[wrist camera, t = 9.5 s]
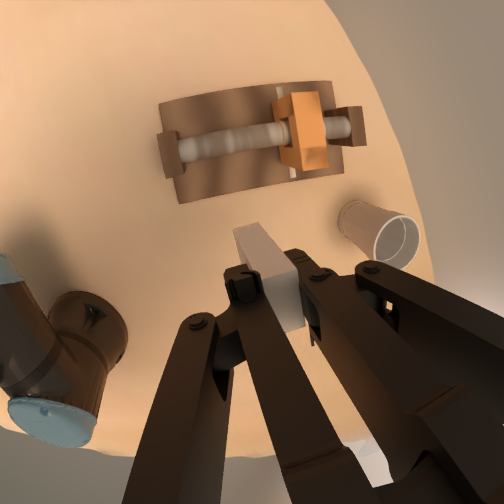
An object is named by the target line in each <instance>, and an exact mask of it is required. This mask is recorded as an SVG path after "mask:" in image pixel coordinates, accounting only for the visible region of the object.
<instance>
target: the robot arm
mask: <svg viewBox="0 0 504 504" xmlns="http://www.w3.org/2000/svg"><path fill="white" fill-rule="evenodd" d="M233 232H234V236H235V240H236V244H237V248H238V252H239V256H240V260H241V264H242V265H238V266H235V267H231V268H228V269H226V270H225V272H224V274H223V275H224V279H225V286H226V290H227V293H228V297H229V300H230V306H229V308H228V309H227V310H226V311H225V312H224V313H222V314H220V315H219V316H217V317H215V316H214V315H213V314H211V313H207V312H201V313H197V314H193V315H191V316H189V317H187V318H186V319H185V320H184V321H183V322H182V324H181V325H180V328H179V330H178V333H177V336H176V338H175V341H174V344H173V347H172V349H171V352H170V355H169V358H168V360H167V363H166V366H165V369H164V372H163V375H162V377H161V380H160V383H159V386H158V389H157V392H156V395H155V398H154V401H153V404H152V407H151V410H150V413H149V416H148V419H147V422H146V425H145V428H144V431H143V434H142V437H141V440H140V443H139V447H138V450H137V453H136V456H135V460H134V463H133V466H132V469H131V473H130V476H129V480H128V483H127V486H126V490H125V493H124V497H123V500H122V504H220V500H221V490H222V479H223V471H224V461H225V452H226V442H227V433H228V424H229V414H230V405H231V396H232V386H233V377H234V368H233V367H235V366H236V365H238V364H240V363H242V362H244V361H245V360H247V363H248V366H249V370H250V373H251V377H252V380H253V383H254V387H255V390H256V393H257V396H258V400H259V403H260V406H261V409H262V413H263V416H264V419H265V422H266V425H267V428H268V431H269V435H270V438H271V441H272V444H273V447H274V450H275V453H276V456H277V459H278V462H279V465H280V468H281V472H282V476H283V479H284V482H285V485H286V488H287V490H288V493H289V496H290V499H291V502H292V504H504V426H503V424H504V318H503V317H501V316H499V315H497V314H495V313H493V312H491V311H489V310H487V309H485V308H483V307H481V306H479V305H477V304H474V303H472V302H470V301H468V300H466V299H464V298H462V297H460V296H457V295H455V294H453V293H451V292H449V291H447V290H444V289H442V288H440V287H438V286H436V285H433V284H431V283H429V282H427V281H425V280H422V279H420V278H418V277H416V276H413V275H411V274H409V273H406V272H404V271H402V270H399V269H397V268H395V267H393V266H390V265H388V264H386V263H383V262H380V261H375V260H367V261H364V262H361V263H359V264H358V265H356V267H355V274H353V275H346V276H339V275H338V274H337V273H335V272H334V271H333V270H331V269H329V268H320V267H319V266H318V265H317V264H316V263H315V262H314V261H313V260H312V259H311V258H310V257H309V256H308V255H307V254H306V253H305V252H304V251H302V250H299V249H296V248H295V249H292V250H288V251H285V252H283V251H282V250H281V249H280V248H279V247H278V245H277V244H276V243H275V242H274V241H273V239H272V238H271V237H270V236H269V235H268V233H267V232H266V231H265V230H264V229H263V228H262V226H261V225H260V224H259V223H254V224H250V225H247V226H243V227H239V228H236V229H233ZM387 301H388V302H390V303H392V304H393V305H392V311H391V310H389V309H387V308H386V305H387ZM304 316H305V318H306V319H307V321H308V324H309V332H310V339H311V345H312V346H314V340H315V342H316V343H317V345H318V347H319V348H320V350H321V351H322V353H323V355H324V356H325V358H326V360H327V361H328V363H329V364H330V366H331V368H332V369H333V371H334V373H335V374H336V376H337V378H338V379H339V381H340V382H341V384H342V386H343V387H344V389H345V391H346V392H347V394H348V396H349V397H350V399H351V400H352V402H353V404H354V405H355V407H356V409H357V410H358V412H359V414H360V415H361V417H362V419H363V420H364V422H365V423H366V425H367V427H368V428H369V430H370V432H371V433H372V435H373V437H374V438H375V440H376V442H377V443H378V445H379V447H380V448H381V450H382V452H383V453H384V455H385V457H386V459H387V461H388V465H389V471H390V474H391V477H392V479H393V481H394V482H393V483H390V484H386V485H382V486H379V487H375V488H372V486H371V484H370V482H369V480H368V478H367V477H366V475H365V473H364V471H363V469H362V467H361V465H360V464H359V462H358V460H357V458H356V457H355V455H354V453H353V452H352V451H351V450H350V448H349V447H346V446H344V445H343V444H342V443H341V441H340V439H339V437H338V435H337V434H336V432H335V430H334V428H333V426H332V424H331V422H330V420H329V418H328V416H327V414H326V412H325V410H324V408H323V406H322V405H321V403H320V401H319V399H318V397H317V395H316V393H315V391H314V389H313V387H312V385H311V383H310V381H309V379H308V377H307V375H306V373H305V371H304V370H303V368H302V366H301V364H300V362H299V360H298V358H297V356H296V354H295V352H294V350H293V348H292V346H291V344H290V342H289V340H288V338H287V336H286V334H285V333H287V332H290V331H293V330H296V329H299V328H302V327H305V326H306V325H305V318H304ZM127 342H128V333H127V328H126V325H125V323H124V321H123V319H122V317H121V316H120V314H119V313H118V312H117V311H116V310H115V309H114V308H113V307H112V306H111V305H110V304H109V303H108V302H106V301H105V300H103V299H102V298H100V297H98V296H96V295H93V294H90V293H87V292H79V291H75V292H69V293H66V294H64V295H62V296H61V297H59V298H58V299H57V300H56V302H55V303H54V305H53V306H52V307H51V309H50V311H49V314H48V318H46V316H45V315H44V313H43V312H42V310H41V308H40V307H39V305H38V304H37V302H36V300H35V299H34V297H33V295H32V294H31V292H30V290H29V288H28V287H27V285H26V283H25V279H24V278H23V277H21V275H20V273H19V272H18V270H17V268H16V267H15V265H14V263H13V262H12V260H11V258H10V257H9V256H8V255H7V254H5V253H0V387H1V388H2V389H3V390H4V391H5V392H6V393H7V395H8V396H9V397H10V400H9V401H8V413H9V415H10V417H11V419H12V420H13V421H14V423H15V424H16V425H17V426H18V427H20V428H21V429H22V430H24V431H25V432H26V433H28V434H29V435H31V436H33V437H35V438H37V439H39V440H41V441H43V442H46V443H49V444H51V445H55V446H59V447H65V448H77V447H82V446H84V445H86V444H87V443H88V442H89V441H90V439H91V437H92V434H93V430H94V427H95V426H96V424H97V418H98V413H99V408H100V404H101V399H102V395H103V391H104V387H105V383H106V379H107V375H108V373H109V372H110V371H111V370H112V369H113V367H114V366H115V364H117V363H118V362H119V361H120V360H121V358H122V357H123V355H124V353H125V349H126V346H127Z"/></svg>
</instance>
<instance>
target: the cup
mask: <svg viewBox="0 0 504 504" xmlns="http://www.w3.org/2000/svg"><path fill="white" fill-rule="evenodd" d="M338 226H339V229H340V231H341V233H342V234H343V235H344V236H346V237H347V238H349V239H350V240H351V241H352V242H353V243H354V244H355V245H356V246H358V247H359V248H360V249H361V250H362V251H363V252H364V253H365V254H366V255H367V257H368V258H369V259H370V260H375V261H380V262H383V263H386V264H388V265H390V266H393V267H395V268H397V269H399V270H403V269H405V268H406V267H407V266H408V265H409V264H410V263H411V262H412V261H413V259H414V258H415V256H416V254H417V252H418V249H419V246H420V239H421V235H420V229H419V226H418V224H417V222H416V221H415V220H414V219H413V218H412V217H410V216H407V215H404V214H400V213H397V212H394V211H388V210H385V209H382V208H379V207H375V206H372V205H369V204H367V203H364V202H362V201H352V202H349V203H348V204H346V205H345V206H344V207H343V209H342V210H341V212H340V214H339V218H338Z"/></svg>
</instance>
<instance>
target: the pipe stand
mask: <svg viewBox="0 0 504 504" xmlns="http://www.w3.org/2000/svg"><path fill="white" fill-rule="evenodd" d="M311 91H318V93H319V99H320V105H321V111H322V118H323V124H324V131H325V138H326V146H327V154H328V162H329V167H328V168H321V169H314V170H307V171H301V170H298V169H295V168H291V167H288V166H285V165H282V164H281V157H280V151H279V145H281V146H282V145H287V144H292V138H291V132H290V125H289V121H277V122H275V120H274V114H273V108H272V102H274V101H276V100H278V99H280V98H282V97H284V96H286V95H288V94H290V93H295V92H311ZM159 109H160V114H161V120H162V125H163V130H164V133H160V134H157V139H158V144H159V149H160V154H161V159H162V164H163V168H164V173H165V177H166V179H167V178H171V177H173V179H174V183H175V188H176V192H177V197H178V201H179V204H183V203H187V202H192V201H196V200H200V199H205V198H210V197H214V196H219V195H224V194H228V193H233V192H238V191H243V190H248V189H253V188H258V187H264V186H269V185H275V184H280V183H286V182H292V181H297V180H303V179H310V178H316V177H322V176H329V175H336V174H343V173H344V165H343V156H342V147H341V146H351V147H355V146H367V143H366V134H365V126H364V118H363V111H362V106H352V107H343V108H337V109H336V104H335V98H334V92H333V86H332V81H310V82H292V83H279V84H269V85H259V86H251V87H243V88H236V89H229V90H223V91H217V92H211V93H206V94H201V95H196V96H191V97H186V98H182V99H177V100H173V101H169V102H165V103H161V104H159Z"/></svg>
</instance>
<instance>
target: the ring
mask: <svg viewBox="0 0 504 504" xmlns="http://www.w3.org/2000/svg"><path fill="white" fill-rule="evenodd" d="M272 108H273V114H274V120H275V122H277V121H289V125H290V132H291V138H292V144H287V145H282V146H281V145H279V151H280V157H281V164H282V165H285V166H288V167H291V168H295V169H298V170H301V171H307V170H314V169H321V168H328V167H329V162H328V154H327V146H326V138H325V131H324V124H323V118H322V111H321V105H320V99H319V93H318V91H311V92H295V93H290V94H288V95H286V96H284V97H282V98H280V99H278V100H276V101H274V102H272Z"/></svg>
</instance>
